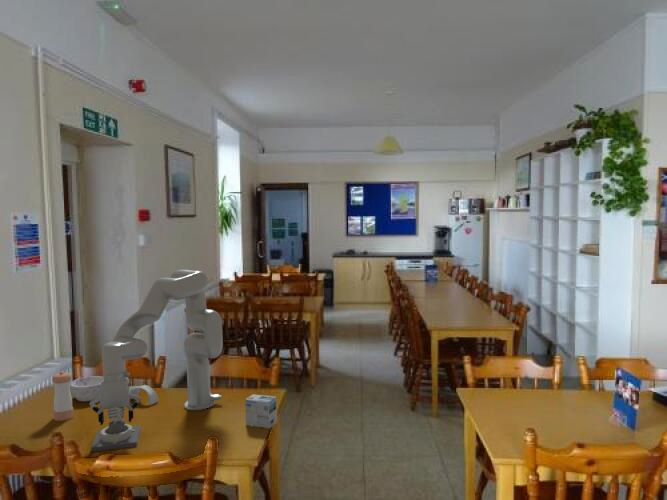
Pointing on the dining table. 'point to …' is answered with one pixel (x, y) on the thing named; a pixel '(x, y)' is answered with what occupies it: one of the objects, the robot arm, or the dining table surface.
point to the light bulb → (117, 424)
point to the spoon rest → (150, 392)
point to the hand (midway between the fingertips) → (116, 422)
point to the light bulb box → (261, 411)
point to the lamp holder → (116, 438)
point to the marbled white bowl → (86, 388)
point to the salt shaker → (62, 397)
